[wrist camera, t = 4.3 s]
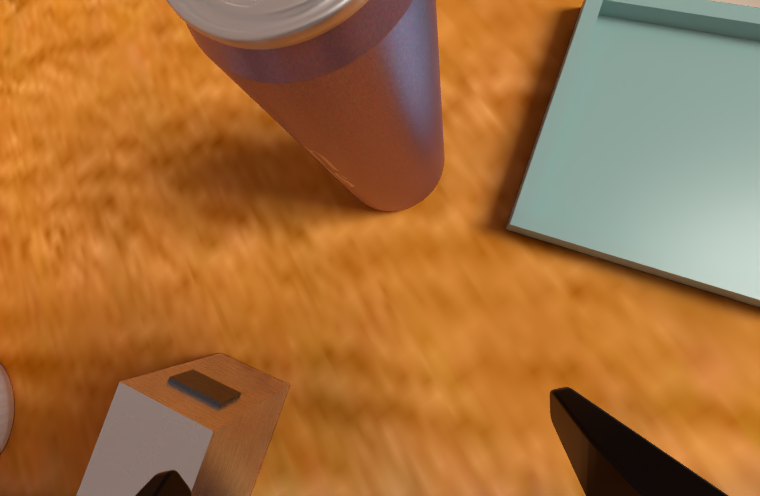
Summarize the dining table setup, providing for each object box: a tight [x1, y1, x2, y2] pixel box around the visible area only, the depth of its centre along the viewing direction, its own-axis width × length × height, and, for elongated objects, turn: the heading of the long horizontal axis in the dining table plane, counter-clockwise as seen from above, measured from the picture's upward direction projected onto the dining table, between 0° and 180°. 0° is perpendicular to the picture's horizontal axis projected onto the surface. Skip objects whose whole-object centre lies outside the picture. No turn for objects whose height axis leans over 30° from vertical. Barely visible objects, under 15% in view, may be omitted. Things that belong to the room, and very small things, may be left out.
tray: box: [505, 0, 760, 307], centre depth 18 cm, size 14×14×2 cm
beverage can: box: [167, 0, 444, 211], centre depth 14 cm, size 6×6×15 cm
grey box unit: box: [76, 353, 290, 496], centre depth 18 cm, size 10×5×7 cm, turn 160°
